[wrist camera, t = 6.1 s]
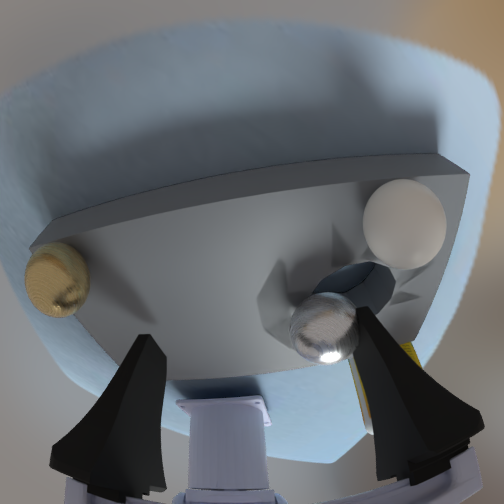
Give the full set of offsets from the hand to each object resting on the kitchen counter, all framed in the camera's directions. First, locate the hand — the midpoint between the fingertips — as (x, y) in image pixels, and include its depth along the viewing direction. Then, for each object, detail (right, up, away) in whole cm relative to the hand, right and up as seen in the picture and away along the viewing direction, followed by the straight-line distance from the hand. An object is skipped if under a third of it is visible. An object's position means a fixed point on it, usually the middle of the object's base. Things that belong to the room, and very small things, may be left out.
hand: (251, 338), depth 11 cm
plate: (0, +2, +3) cm, 4 cm away
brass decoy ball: (-8, +3, -3) cm, 9 cm away
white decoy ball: (+5, +5, -3) cm, 8 cm away
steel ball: (+3, 0, 0) cm, 3 cm away
